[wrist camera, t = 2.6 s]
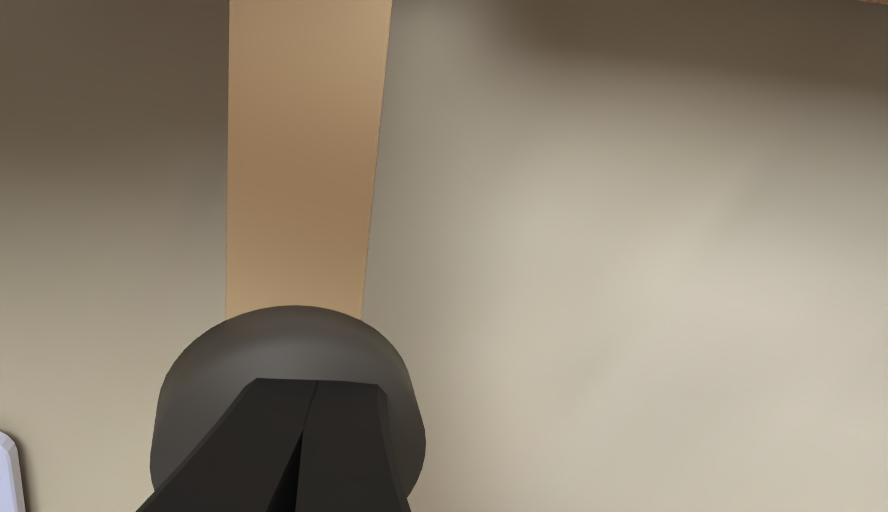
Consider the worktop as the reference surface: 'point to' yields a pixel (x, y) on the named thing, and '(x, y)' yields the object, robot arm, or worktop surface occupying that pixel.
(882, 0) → the stand
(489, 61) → the worktop surface
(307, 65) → the lever
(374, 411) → the robot arm
